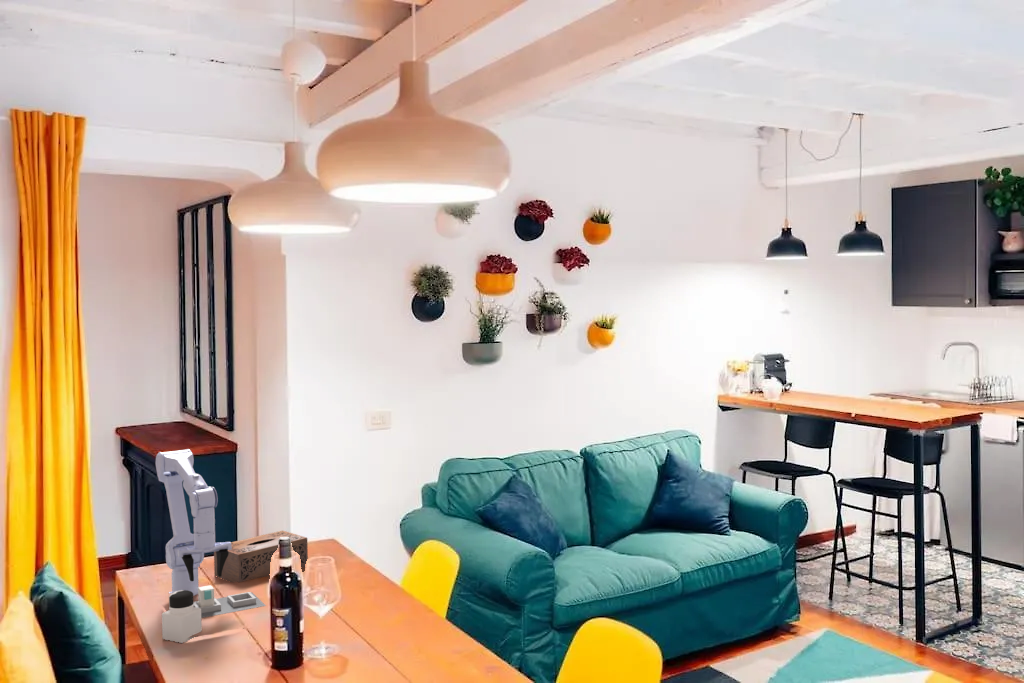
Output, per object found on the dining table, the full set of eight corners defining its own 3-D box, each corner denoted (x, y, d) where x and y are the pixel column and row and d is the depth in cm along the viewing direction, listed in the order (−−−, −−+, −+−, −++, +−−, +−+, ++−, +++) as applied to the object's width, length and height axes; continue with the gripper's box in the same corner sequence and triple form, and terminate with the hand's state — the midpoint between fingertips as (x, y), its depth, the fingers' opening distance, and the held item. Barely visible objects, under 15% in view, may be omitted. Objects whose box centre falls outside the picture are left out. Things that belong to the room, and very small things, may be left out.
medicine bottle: (202, 634, 242) (201, 590, 241) (182, 643, 235) (181, 598, 234) (182, 630, 245) (181, 586, 244) (161, 639, 238) (160, 594, 237)
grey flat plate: (182, 608, 262) (182, 599, 262) (252, 595, 272) (252, 587, 272) (194, 622, 250) (193, 613, 250) (265, 609, 261) (265, 600, 260)
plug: (198, 608, 259) (197, 587, 259) (211, 605, 261) (210, 585, 261) (202, 612, 255) (201, 591, 255) (215, 609, 257) (214, 589, 257)
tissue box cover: (238, 586, 282) (238, 554, 282) (214, 576, 292) (213, 546, 291) (307, 567, 301) (307, 537, 301) (282, 559, 311) (282, 530, 311)
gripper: (180, 537, 250) (182, 586, 251) (233, 530, 258) (235, 577, 259) (175, 532, 256) (176, 579, 257) (227, 525, 264) (228, 570, 265)
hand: (205, 578), depth 258 cm, fingers open, 7 cm apart
